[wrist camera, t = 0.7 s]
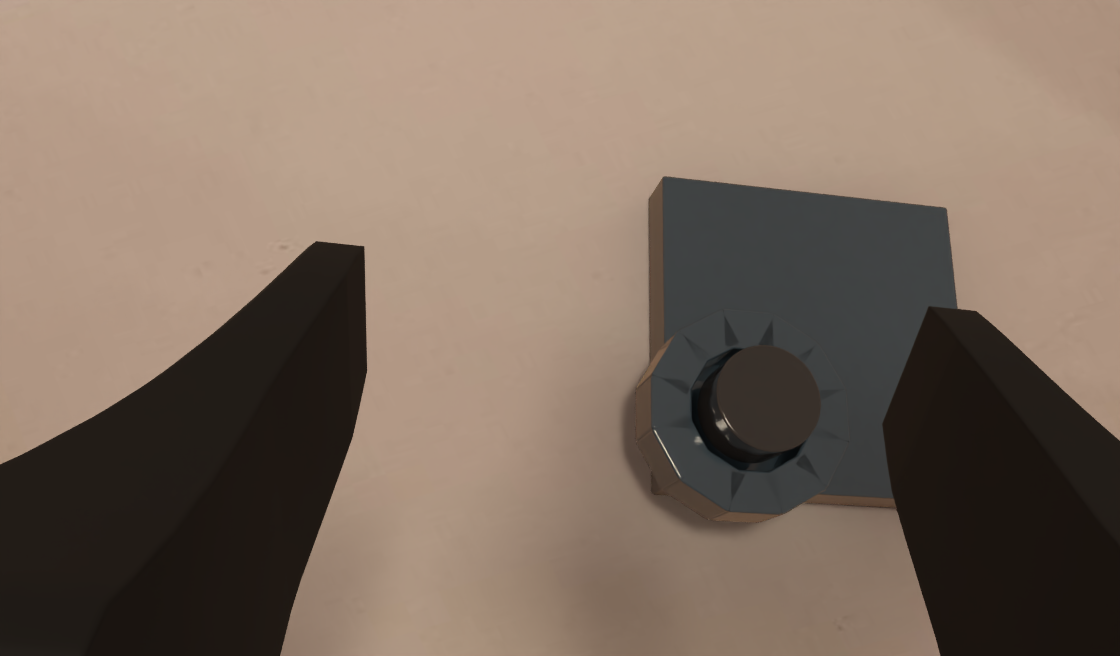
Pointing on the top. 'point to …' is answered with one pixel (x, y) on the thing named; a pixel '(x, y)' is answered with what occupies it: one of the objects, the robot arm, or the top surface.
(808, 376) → the dark brown short cylinder
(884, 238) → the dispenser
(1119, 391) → the top surface
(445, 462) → the top surface
